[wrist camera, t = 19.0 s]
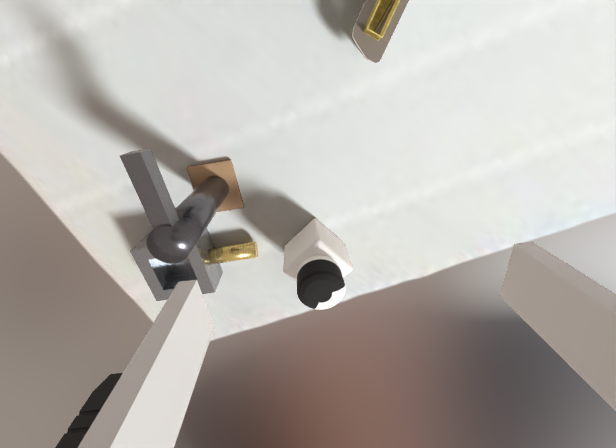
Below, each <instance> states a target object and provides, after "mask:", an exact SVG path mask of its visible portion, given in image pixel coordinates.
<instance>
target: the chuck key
mask: <svg viewBox="0 0 616 448" xmlns="http://www.w3.org/2000/svg"><path fill="white" fill-rule="evenodd" d="M120 158H121V160H122V162H123V164H124V166H125V168H126V171H127V173H128V175H129V177H130V179H131V181H132V183H133V186H134V188H135V190H136V192H137V194H138V196H139V199H140V201H141V203H142V205H143V207H144V209H145V211H146V214H147V216H148V218H149V220H150V222H151V224H152V227H153V229H154V230H153V231H152V232H151V233H150V234H149V236H148V237H147V242H146V244H147V248H148V250H149V252H150V253H151V255H152V256H153V257H155V258H156V259H157V260H159V261H161V262H164V263H169V264H175V263H179V262H182V261H183V260H185V259H186V258H187V257H188V255H189V253H190V252H191V250H192V249H193V247H194V246H195V244H196V243H197V241H198V240H199V238H200V237H201V235H202V233H203V232H204V230H205V229H206V227H207V226H208V224H209V223H210V221H211V220H212V218H213V217H214V215H215V214H216V212H217V210H218V209H219V207H220V206H221V204H222V203H223V201H224V200H225V198H226V197H227V195H228V193H229V186H228V184H227V182H226V181H225V180H224V179H223V178H221V177H219V176H210V177H208V178H207V179H205V180H204V181H203V182H202V183H201V184H200V185H199V186H198V187H197V188H196V189H195V190H194V191H193V192H192V193H191V194H190V195H189V196H188V197H187V198H186V199H185V200H184V201H183V202H182V203H181V204H180V205H179V206H178V207H177V208H176V209H175V207H174V205H173V202H172V200H171V198H170V195H169V193H168V190H167V188H166V185H165V183H164V180H163V178H162V175H161V173H160V171H159V168H158V166H157V163H156V161H155V158H154V156H153V153H152V151H151V149H144V150H138V151H132V152H129V153H126V154H123V155H121V156H120Z"/></svg>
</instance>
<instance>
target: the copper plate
mask: <svg viewBox="0 0 616 448" xmlns="http://www.w3.org/2000/svg"><path fill="white" fill-rule="evenodd" d="M187 170H188V173H189V175H190V178H191V181H192V184H193V187H194V189H196V188H197V187H198V186H199V185H200V184H201V183H202V182H203V181H204V180H205V179H207V178H208V177H210V176H219V177H221V178H223V179H224V180H225V181H226V182H227V184H228V186H229V193H228V195H227V197H226V198H225V200H224V201H223V203H222V204H221V206H220V207H219V209H218V210H217V212H220V211H226V210H232V209H239V208H243V207H244V204H243V201H242V197H241V194H240V190H239V186H238V183H237V179H236V176H235V172H234V169H233V165H232V161H231V160H226V161H220V162H214V163H208V164H201V165H195V166H189V167H187Z"/></svg>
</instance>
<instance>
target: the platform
mask: <svg viewBox="0 0 616 448" xmlns="http://www.w3.org/2000/svg"><path fill="white" fill-rule="evenodd" d="M408 1H409V0H365V1H364V4H363V6H362V8H361V11H360V13H359V16H358V18H357V20H356V23H355V25H354V27H353V31H352V38H353V40H354V42H355V43H356V45H357V46H358V48H359V50H360V51H361V53H362V54H363V56H364V57H365V59H367V60H368V61H370V62H372V63H377V62H379V61H380V59H381V57H382V55H383V53H384V51H385V49H386V47H387V45H388V43H389V41H390V38H391V36H392V34H393V32H394V30H395V28H396V26H397V24H398V22H399V20H400V18H401V15H402V13H403V11H404V9H405V7H406V5H407V3H408ZM372 33H373V34H372Z"/></svg>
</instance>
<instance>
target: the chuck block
mask: <svg viewBox="0 0 616 448" xmlns="http://www.w3.org/2000/svg"><path fill="white" fill-rule="evenodd" d="M148 236H149V234H148V235H147V236H146V237H145V238H144V239H143V240H141V241H140V242H139V243H138V244H137V245H136V246H135V247H134V248H133V249H132V250H131V251H130V252H131V253H132V255H133V257H134V259H135V261H136V263H137V265H138V267H139V269H140V270H141V272H142V274H143V276H144V278H145V280H146V282H147V284H148V286H149V287H150V289H151V291H152V293H153V295H154V297H155V299H156V301H160V300H167V299H168V298H169V296H170V295H171V293H172V292H173V290H174V288H175V287H176V285H177V283H178V282H181V281H190V280H197V281H198V284H199V287H200V290H201V292H202V294H206V293H213V292H215V290H216V288H217V285H218V283H219V280H220V278H221V275H222V273H223V272H222V269H221V266H220V263H224V262H230V261H236V260H243V259H249V258H256V257H258V248H257V244H256V242H250V243H244V244H237V245H231V246H224V247H218V248H214V247H213V244H212V241H211V238H210V236H209V233H208V230H207V227H206V229H205V230H204V232H203V233H202V235H201V237H200V238H199V240H198V241H197V243H196V244H195V246H194V247H193V249H192V250H191V252H190V253H189V255H188V257H187V258H186V259H185V260H183V261H182V262H179V263H175V264H169V263H164V262H161V261H159V260H157V259H156V258H155V257H153V256H152V255H151V253H150V252H149V250H148V248H147V244H146V242H147V237H148Z"/></svg>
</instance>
